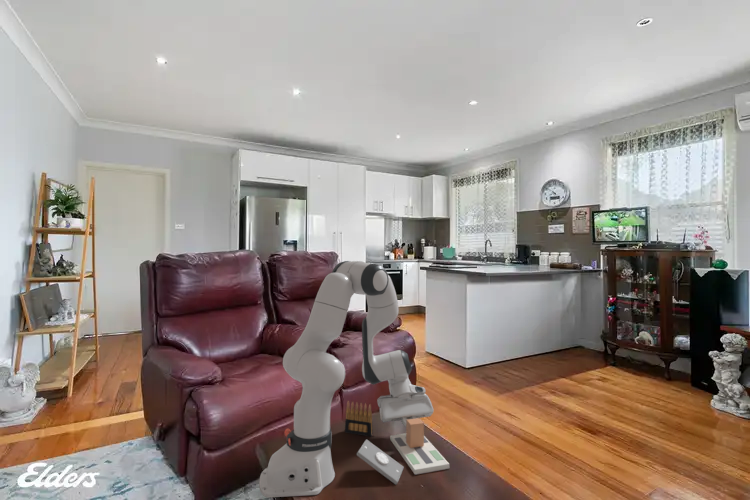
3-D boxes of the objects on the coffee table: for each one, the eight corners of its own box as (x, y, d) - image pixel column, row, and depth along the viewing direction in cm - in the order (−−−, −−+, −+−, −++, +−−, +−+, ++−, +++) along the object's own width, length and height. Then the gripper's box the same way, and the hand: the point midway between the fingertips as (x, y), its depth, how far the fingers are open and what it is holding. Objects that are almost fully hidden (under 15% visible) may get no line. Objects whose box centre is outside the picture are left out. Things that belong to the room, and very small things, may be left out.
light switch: (399, 479, 112) (359, 449, 116) (390, 495, 113) (350, 464, 117) (405, 464, 120) (367, 436, 124) (396, 479, 121) (359, 451, 125)
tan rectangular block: (410, 448, 130) (410, 424, 130) (406, 442, 134) (406, 419, 134) (423, 445, 132) (423, 422, 132) (419, 440, 136) (419, 418, 136)
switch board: (414, 474, 118) (414, 469, 118) (390, 439, 140) (390, 435, 140) (449, 468, 121) (449, 463, 121) (420, 435, 143) (420, 430, 143)
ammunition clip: (372, 434, 144) (373, 402, 144) (371, 436, 142) (371, 404, 142) (346, 430, 147) (346, 399, 147) (344, 432, 145) (345, 401, 145)
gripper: (378, 392, 140) (386, 431, 130) (428, 387, 146) (440, 423, 136) (374, 400, 144) (382, 438, 135) (423, 394, 150) (434, 430, 141)
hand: (411, 430), depth 136 cm, fingers closed, pressing on tan rectangular block
